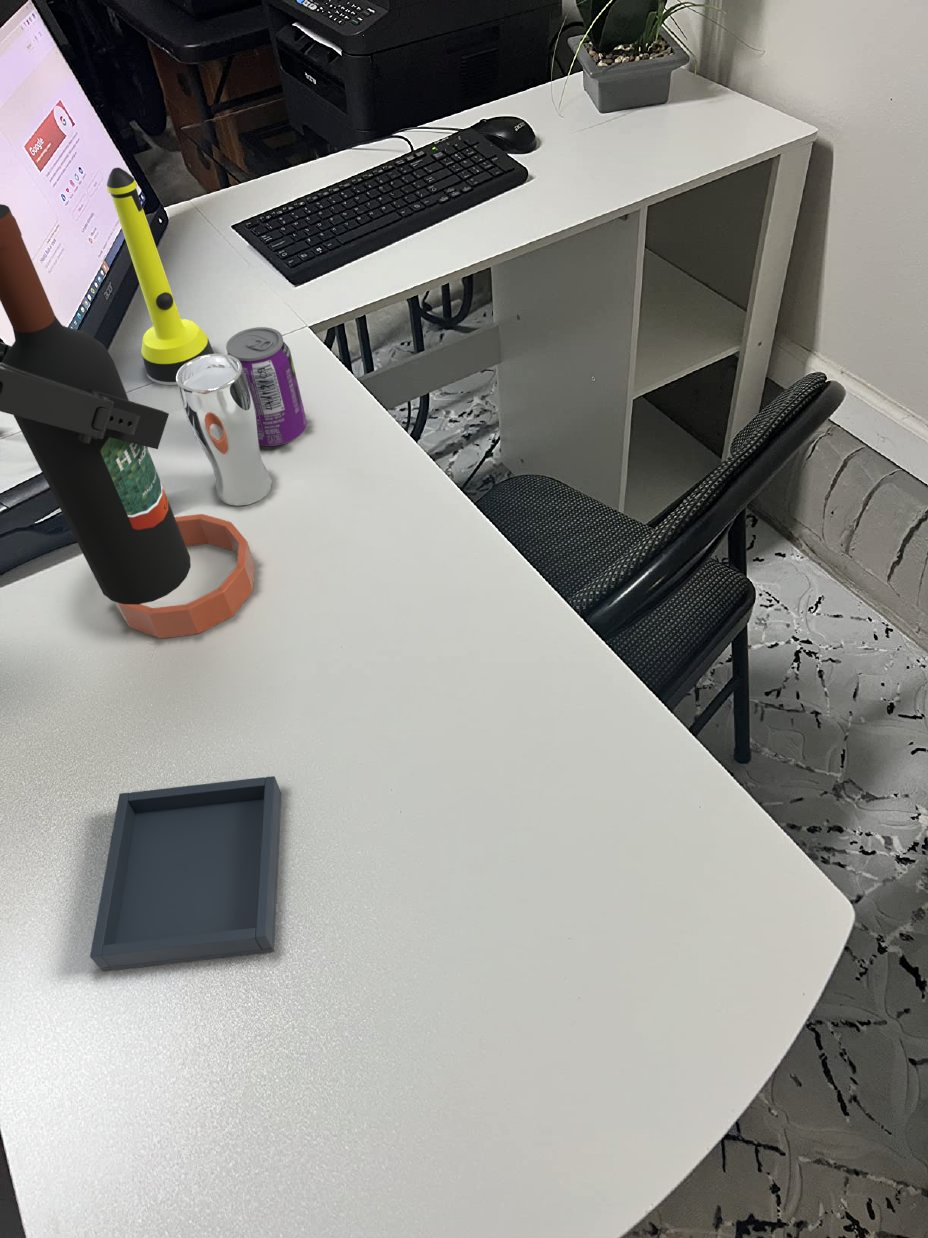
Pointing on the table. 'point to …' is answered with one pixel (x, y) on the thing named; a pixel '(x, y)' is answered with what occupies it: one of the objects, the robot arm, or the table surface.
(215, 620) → the faceted bangle
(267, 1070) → the table surface
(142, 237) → the flashlight
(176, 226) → the table surface
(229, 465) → the beer glass
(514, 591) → the table surface
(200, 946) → the tray
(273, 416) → the beverage can
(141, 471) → the wine bottle
